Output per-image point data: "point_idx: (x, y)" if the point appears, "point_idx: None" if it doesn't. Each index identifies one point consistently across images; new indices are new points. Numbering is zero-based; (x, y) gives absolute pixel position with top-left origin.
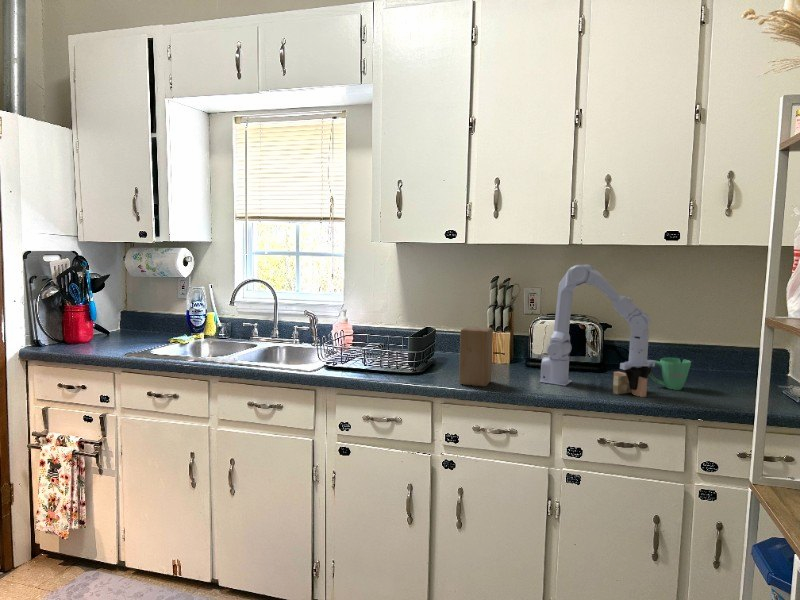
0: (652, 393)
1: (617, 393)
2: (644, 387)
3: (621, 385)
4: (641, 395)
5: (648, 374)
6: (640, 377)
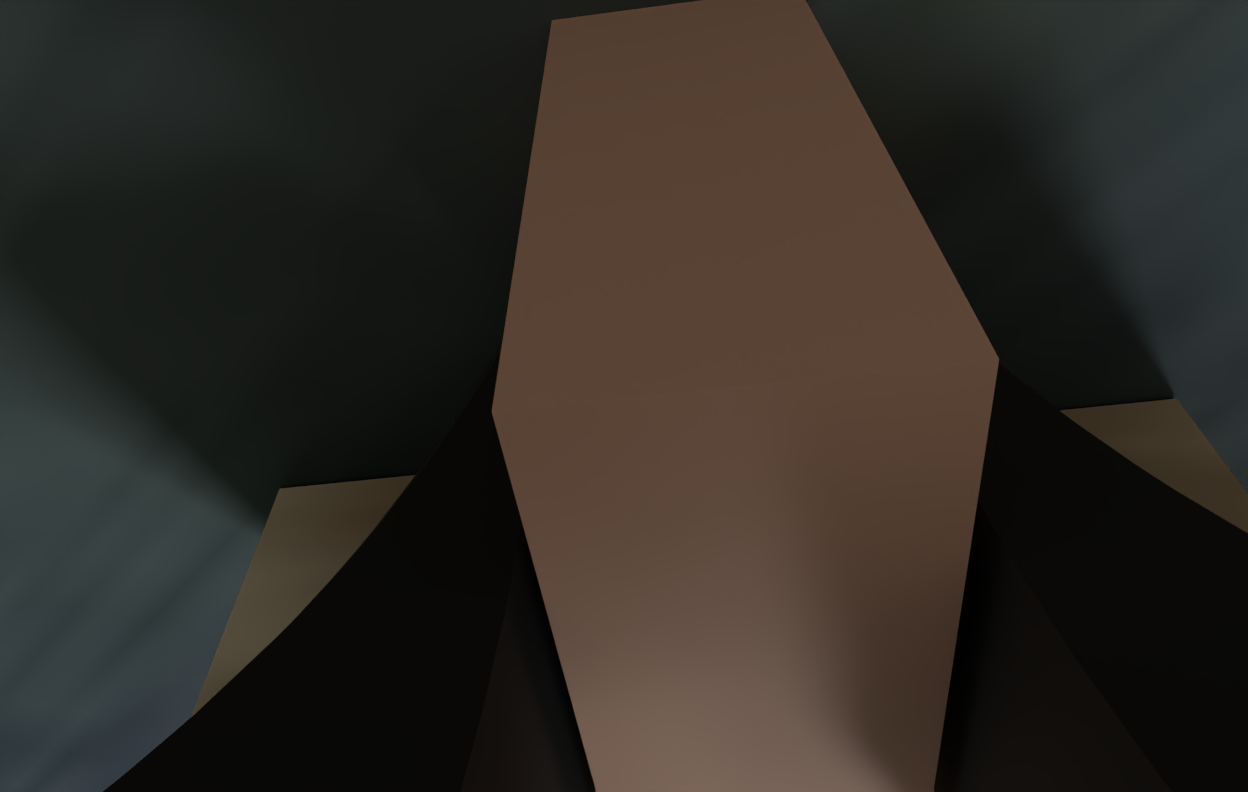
0: (128, 240)
1: (1185, 412)
2: (689, 137)
3: None
4: (803, 5)
5: (156, 759)
6: (671, 670)
